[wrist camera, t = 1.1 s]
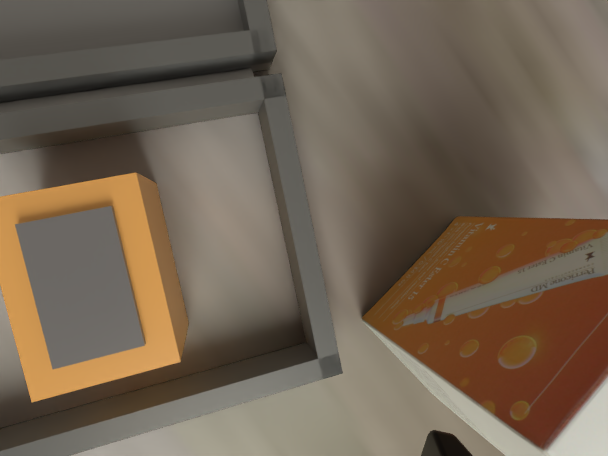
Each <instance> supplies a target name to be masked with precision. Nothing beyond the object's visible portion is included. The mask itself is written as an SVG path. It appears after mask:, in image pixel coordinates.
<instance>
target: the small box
mask: <svg viewBox="0 0 608 456" xmlns="http://www.w3.org/2000/svg"><path fill="white" fill-rule="evenodd" d="M362 320H363V322H364V323H365V324H366V325H367V326H368V327H369V328H370V329H371V330H372V331H373V332H374V333H375V334H376V335H377V337H378V338H379V339H380V340H381V341H382V342H383V343H384V344H385V345H386V346H387V347H388V348H389V349H390V350H391V351H392V352H393V353H394V354H395V355H396V356H397V357H398V358H399V359H400V361H401V362H402V363H403V364H404V365H405V366H406V367H407V368H408V369H409V370H410V371H411V372H412V373H413V374H414V375H415V376H416V377H417V378H418V379H419V380H420V381H421V383H422V384H423V385H424V386H425V387H426V388H427V389H428V390H429V391H430V392H431V393H432V394H433V395H434V396H435V397H437V398H438V399H439V400H440V401H441V402H442V403H443V404H445V405H446V406H447V407H448V408H449V409H451V410H452V411H453V412H454V413H455V414H456V415H458V416H459V417H460V418H461V419H462V420H464V421H465V422H466V423H467V424H468V425H469V426H471V427H472V428H473V429H474V430H475V431H477V432H478V433H479V434H480V435H481V436H483V437H484V438H485V439H486V440H487V441H489V442H490V443H491V444H492V445H493V446H495V447H496V448H497V449H498V450H500V451H501V452H502V453H503V454H504V455H506V456H608V220H602V219H562V218H520V217H469V216H458V217H456V218H455V219H454V220H453V222H452V223H451V224H450V225H449V226H448V227H447V229H446V230H445V231H444V232H443V233H442V234H441V235H440V237H439V238H438V239H437V240H436V241H435V242H434V243H433V244H432V245H431V246H430V248H429V249H428V250H427V251H426V252H425V253H424V254H423V255H422V256H421V257H420V258H419V259H418V260H417V261H416V262H415V263H414V265H413V266H412V267H411V268H410V269H409V270H408V271H407V272H406V273H405V274H404V275H403V276H402V277H401V278H400V279H399V280H398V281H397V282H396V283H395V284H394V285H393V286H392V287H391V288H390V289H389V290H388V292H387V293H386V294H385V295H384V296H383V297H382V298H381V299H380V300H379V301H378V302H377V303H376V304H375V305H374V306H373V307H372V308H371V309H370V310H369V311H368V312H367V313H366V314H365V315H364V316H363V317H362Z"/></svg>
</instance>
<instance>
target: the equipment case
mask: <svg viewBox="0 0 608 456" xmlns="http://www.w3.org/2000/svg"><path fill="white" fill-rule="evenodd" d="M252 113H258V115H259V119H260V124H261V129H262V134H263V138H264V143H265V148H266V153H267V157H268V162H269V167H270V172H271V176H272V181H273V186H274V191H275V196H276V200H277V205H278V210H279V215H280V219H281V224H282V229H283V234H284V238H285V243H286V248H287V253H288V257H289V262H290V267H291V272H292V276H293V281H294V286H295V291H296V296H297V300H298V305H299V310H300V315H301V319H302V324H303V329H304V334H305V338H306V343H303V344H300V345H296V346H292V347H289V348H285V349H282V350H278V351H275V352H271V353H268V354H264V355H260V356H257V357H253V358H250V359H246V360H243V361H239V362H235V363H232V364H228V365H225V366H221V367H218V368H214V369H211V370H207V371H203V372H200V373H196V374H193V375H189V376H186V377H182V378H178V379H175V380H171V381H168V382H164V383H161V384H157V385H154V386H150V387H146V388H143V389H139V390H136V391H132V392H129V393H125V394H121V395H118V396H114V397H111V398H107V399H104V400H100V401H97V402H93V403H89V404H86V405H82V406H79V407H75V408H72V409H68V410H64V411H61V412H57V413H54V414H50V415H47V416H43V417H40V418H36V419H32V420H29V421H25V422H22V423H18V424H15V425H11V426H7V427H4V428H0V456H70V455H73V454H77V453H80V452H83V451H87V450H90V449H93V448H97V447H100V446H103V445H107V444H110V443H113V442H117V441H120V440H123V439H126V438H130V437H133V436H136V435H140V434H143V433H146V432H150V431H153V430H156V429H160V428H163V427H166V426H170V425H173V424H176V423H179V422H183V421H186V420H189V419H193V418H196V417H199V416H203V415H206V414H209V413H213V412H216V411H219V410H223V409H226V408H229V407H233V406H236V405H239V404H242V403H246V402H249V401H252V400H256V399H259V398H262V397H266V396H269V395H272V394H276V393H279V392H282V391H286V390H289V389H292V388H295V387H299V386H302V385H305V384H309V383H312V382H315V381H319V380H322V379H325V378H329V377H332V376H335V375H339V374H342V373H343V372H342V367H341V362H340V358H339V353H338V348H337V343H336V338H335V333H334V328H333V323H332V318H331V313H330V309H329V304H328V299H327V294H326V289H325V284H324V279H323V274H322V269H321V264H320V260H319V255H318V250H317V245H316V240H315V235H314V230H313V225H312V220H311V216H310V211H309V206H308V201H307V196H306V191H305V186H304V181H303V176H302V171H301V167H300V162H299V157H298V152H297V147H296V142H295V137H294V132H293V127H292V122H291V118H290V113H289V108H288V103H287V98H286V93H285V88H284V83H283V78H282V74H281V73H279V74H272V75H265V76H258V77H251V78H244V79H237V80H230V81H223V82H216V83H209V84H202V85H195V86H188V87H181V88H174V89H167V90H160V91H153V92H146V93H139V94H132V95H125V96H118V97H111V98H104V99H97V100H90V101H83V102H76V103H69V104H62V105H55V106H48V107H41V108H34V109H27V110H20V111H13V112H6V113H0V154H3V153H9V152H16V151H22V150H28V149H34V148H41V147H47V146H53V145H59V144H65V143H72V142H78V141H84V140H90V139H97V138H103V137H109V136H115V135H121V134H128V133H134V132H140V131H146V130H153V129H159V128H165V127H171V126H177V125H184V124H190V123H196V122H202V121H209V120H215V119H221V118H227V117H233V116H240V115H246V114H252Z"/></svg>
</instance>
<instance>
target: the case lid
mask: <svg viewBox="0 0 608 456" xmlns="http://www.w3.org/2000/svg"><path fill="white" fill-rule="evenodd" d="M276 51H277V49H276V44H275V39H274V34H273V29H272V25H271V20H270V15H269V10H268V5H267V0H0V113H6V112H13V111H20V110H27V109H34V108H41V107H48V106H55V105H62V104H69V103H76V102H83V101H90V100H97V99H104V98H111V97H118V96H125V95H132V94H139V93H146V92H153V91H160V90H167V89H174V88H181V87H188V86H195V85H202V84H209V83H216V82H223V81H230V80H237V79H244V78H251V77H254V75H253V72H255V71H262V70H269V69H270V66H271V64H272V61H273V59H274V56H275V54H276Z"/></svg>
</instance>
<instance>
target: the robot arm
mask: <svg viewBox="0 0 608 456" xmlns="http://www.w3.org/2000/svg"><path fill="white" fill-rule="evenodd" d="M421 456H472V454H471V453H470V452H469V451H468V450H467V449H466V448H465V447H464V445H463V444H462V443H461V442H460V441H459V440H458V439H457V438H456V437H455V436H454V435H453V434H450V433H446V432H441V431H436V430H433V431H430V433H429V434H428V436H427V439H426V442H425V445H424V448H423V451H422V454H421Z"/></svg>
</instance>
